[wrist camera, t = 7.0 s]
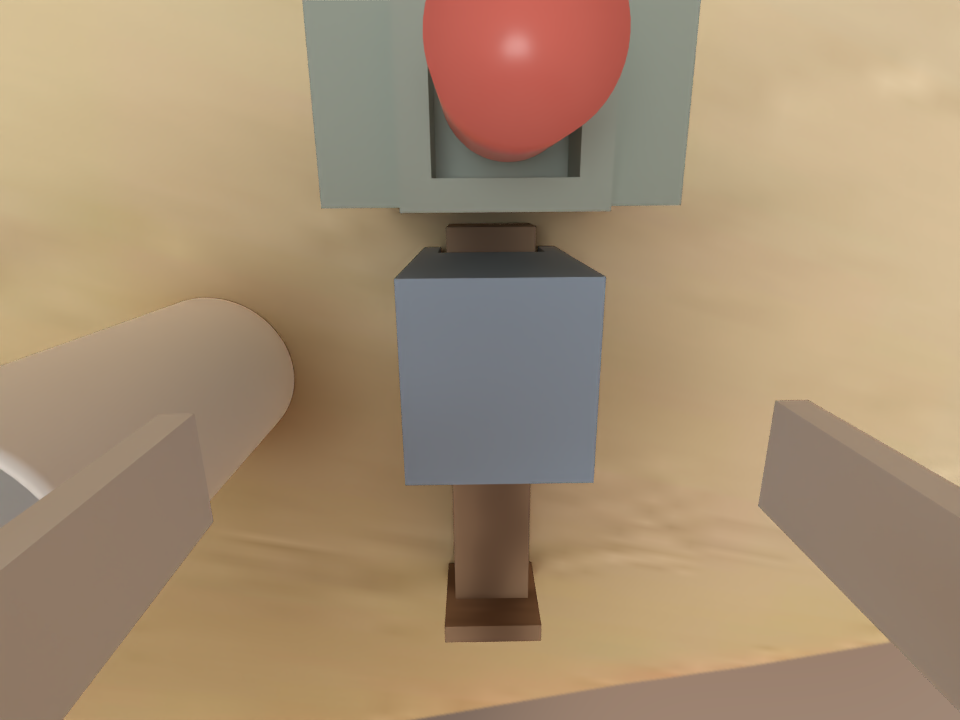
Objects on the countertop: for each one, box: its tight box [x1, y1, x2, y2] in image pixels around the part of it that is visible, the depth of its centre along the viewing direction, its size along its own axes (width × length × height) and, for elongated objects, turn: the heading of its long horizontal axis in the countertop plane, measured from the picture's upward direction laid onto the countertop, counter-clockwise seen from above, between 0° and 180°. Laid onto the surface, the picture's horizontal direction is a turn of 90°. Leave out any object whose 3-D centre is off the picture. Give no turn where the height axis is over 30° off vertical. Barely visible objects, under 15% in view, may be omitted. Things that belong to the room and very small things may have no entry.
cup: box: [0, 298, 294, 528], centre depth 21 cm, size 8×8×16 cm
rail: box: [445, 224, 541, 642], centre depth 27 cm, size 5×21×5 cm, turn 0°
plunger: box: [423, 0, 631, 162], centre depth 10 cm, size 3×3×4 cm
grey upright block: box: [302, 0, 701, 213], centre depth 19 cm, size 11×5×14 cm, turn 90°
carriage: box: [394, 246, 606, 485], centre depth 22 cm, size 6×7×11 cm
